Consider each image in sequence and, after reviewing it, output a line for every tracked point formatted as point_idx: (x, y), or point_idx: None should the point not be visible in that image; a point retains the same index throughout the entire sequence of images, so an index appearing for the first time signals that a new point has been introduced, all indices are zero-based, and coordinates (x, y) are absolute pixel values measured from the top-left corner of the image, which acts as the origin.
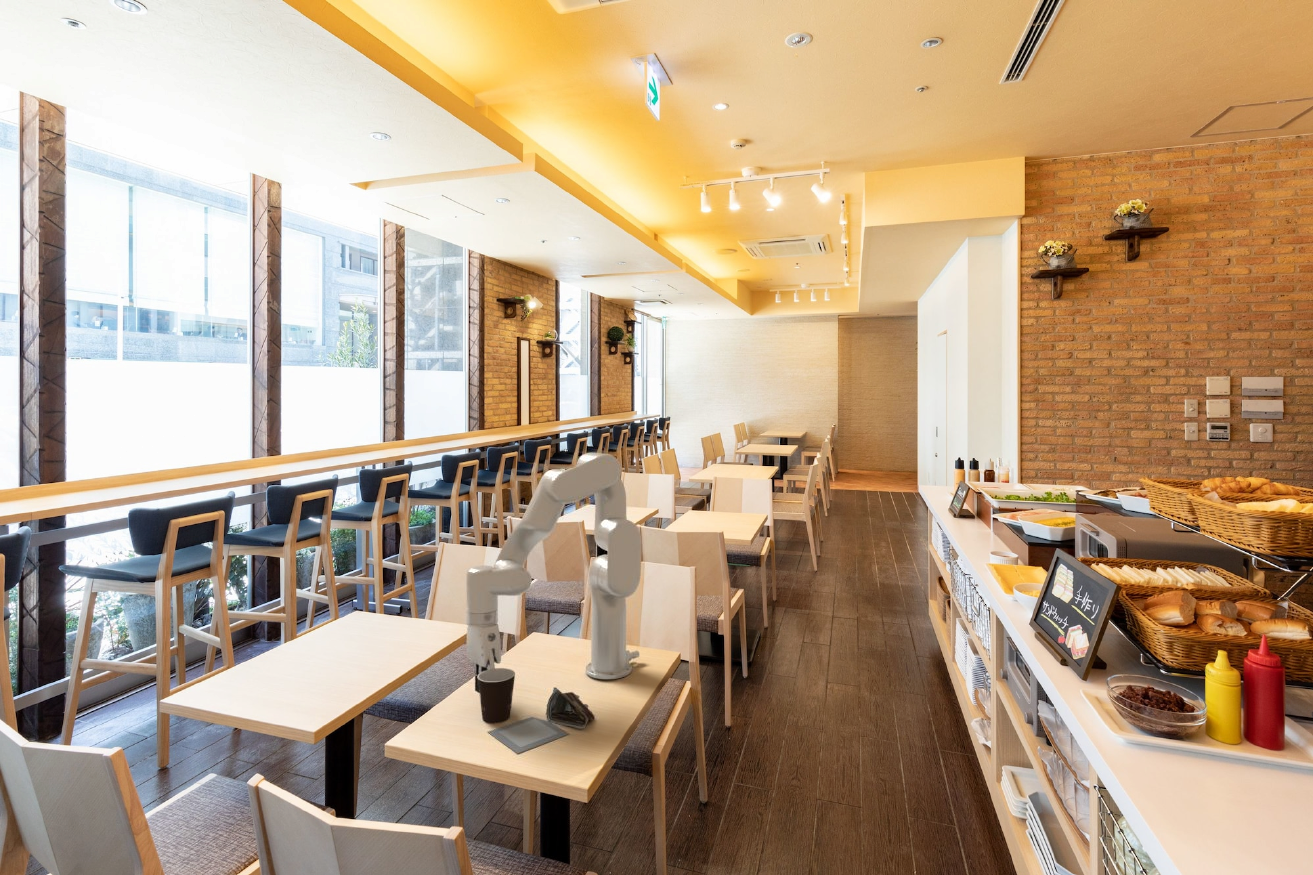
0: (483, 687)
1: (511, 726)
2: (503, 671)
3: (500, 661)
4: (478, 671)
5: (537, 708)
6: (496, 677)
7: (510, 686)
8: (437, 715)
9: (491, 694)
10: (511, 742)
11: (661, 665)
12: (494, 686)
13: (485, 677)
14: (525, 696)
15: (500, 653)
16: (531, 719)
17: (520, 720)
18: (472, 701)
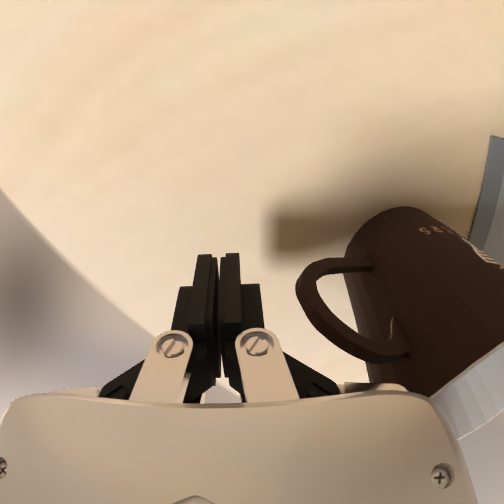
0: (451, 414)
1: None
2: (470, 346)
3: (440, 408)
4: (203, 392)
5: (455, 91)
6: (412, 349)
7: None
8: (226, 378)
9: (471, 371)
10: None
11: None
12: (497, 390)
13: None
14: (302, 35)
15: (471, 483)
16: (498, 179)
17: (478, 210)
18: (178, 271)
